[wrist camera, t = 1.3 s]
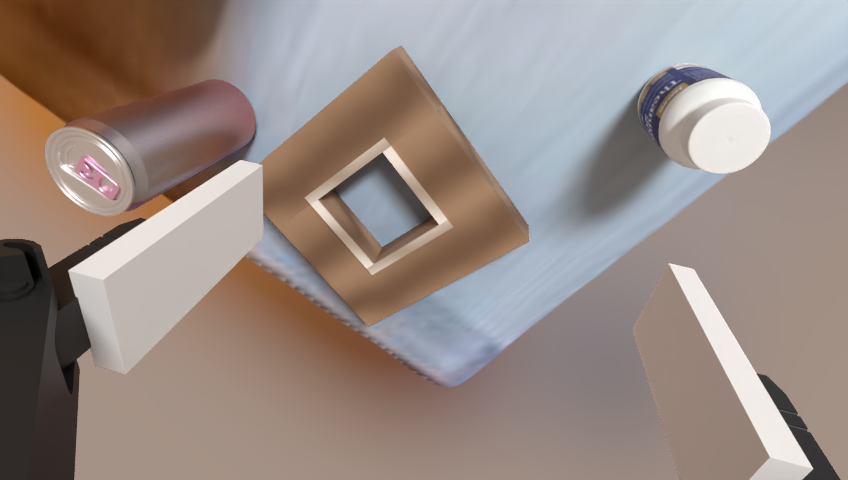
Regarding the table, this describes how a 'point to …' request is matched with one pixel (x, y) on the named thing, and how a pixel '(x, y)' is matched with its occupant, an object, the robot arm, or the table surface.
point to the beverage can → (147, 145)
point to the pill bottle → (703, 118)
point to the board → (420, 168)
